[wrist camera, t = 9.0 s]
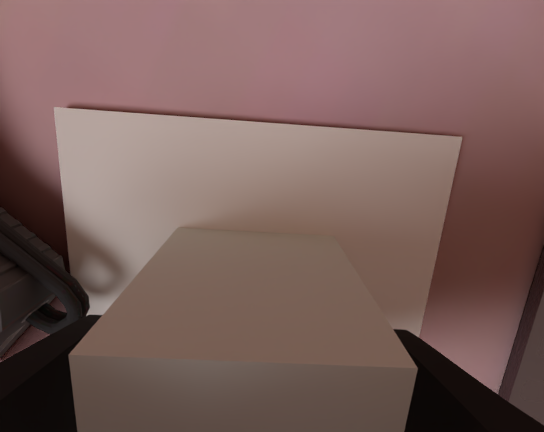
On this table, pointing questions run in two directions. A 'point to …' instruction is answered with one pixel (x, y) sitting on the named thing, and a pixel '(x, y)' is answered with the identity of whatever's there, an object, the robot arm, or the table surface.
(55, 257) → the chainsaw
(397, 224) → the mat
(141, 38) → the table surface
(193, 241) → the pale grey cube box
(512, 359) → the post base
